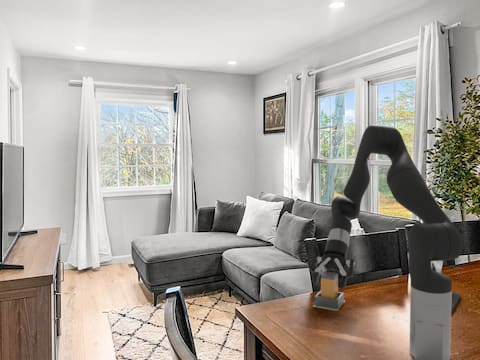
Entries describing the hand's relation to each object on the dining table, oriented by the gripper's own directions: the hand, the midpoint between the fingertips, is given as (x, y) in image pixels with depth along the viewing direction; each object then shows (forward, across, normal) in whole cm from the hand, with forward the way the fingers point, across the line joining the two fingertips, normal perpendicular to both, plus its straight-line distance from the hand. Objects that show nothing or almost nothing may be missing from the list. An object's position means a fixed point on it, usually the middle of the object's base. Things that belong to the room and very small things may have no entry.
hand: (328, 286), depth 130 cm
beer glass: (-22, +29, +33) cm, 50 cm away
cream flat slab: (+4, 0, +6) cm, 8 cm away
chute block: (+3, 0, +5) cm, 6 cm away
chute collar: (+4, 0, +5) cm, 6 cm away
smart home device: (-10, +33, +21) cm, 41 cm away
